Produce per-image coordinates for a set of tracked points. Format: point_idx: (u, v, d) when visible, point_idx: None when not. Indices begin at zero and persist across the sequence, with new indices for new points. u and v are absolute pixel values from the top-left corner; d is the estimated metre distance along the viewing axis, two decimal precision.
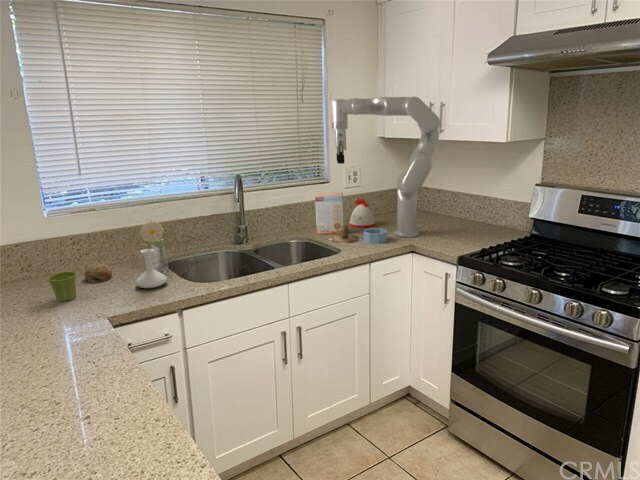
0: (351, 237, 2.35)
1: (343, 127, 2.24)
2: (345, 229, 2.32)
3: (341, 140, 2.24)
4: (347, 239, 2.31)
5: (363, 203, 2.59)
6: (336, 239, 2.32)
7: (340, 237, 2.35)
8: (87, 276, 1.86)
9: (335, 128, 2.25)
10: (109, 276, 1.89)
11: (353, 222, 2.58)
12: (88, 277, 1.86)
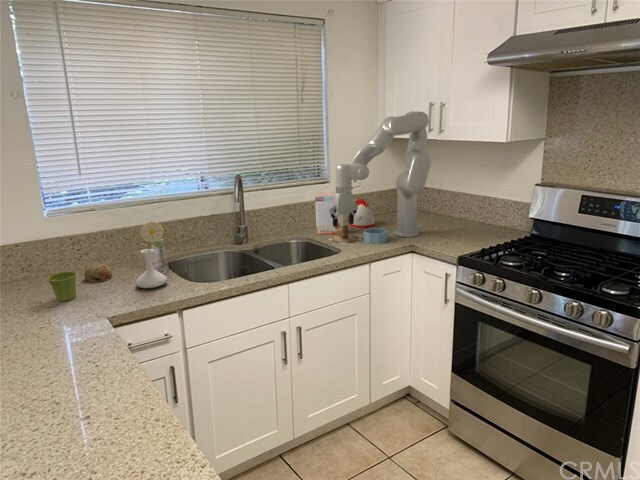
0: (351, 237, 2.35)
1: None
2: (345, 229, 2.32)
3: None
4: (347, 239, 2.31)
5: (363, 203, 2.59)
6: (336, 239, 2.32)
7: (340, 237, 2.35)
8: (87, 276, 1.87)
9: (351, 192, 2.28)
10: (109, 276, 1.89)
11: None
12: (88, 277, 1.87)
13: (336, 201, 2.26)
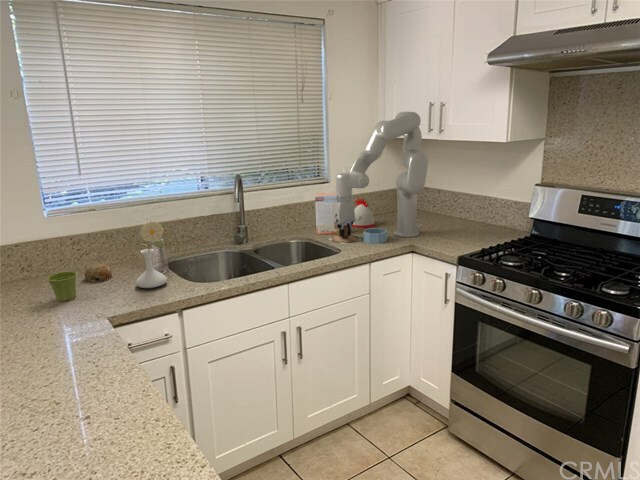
0: (351, 237, 2.35)
1: None
2: (345, 229, 2.32)
3: None
4: (347, 239, 2.31)
5: (363, 203, 2.59)
6: (336, 239, 2.32)
7: (340, 237, 2.35)
8: (87, 276, 1.87)
9: None
10: (109, 276, 1.89)
11: None
12: (88, 277, 1.87)
13: (337, 210, 2.27)
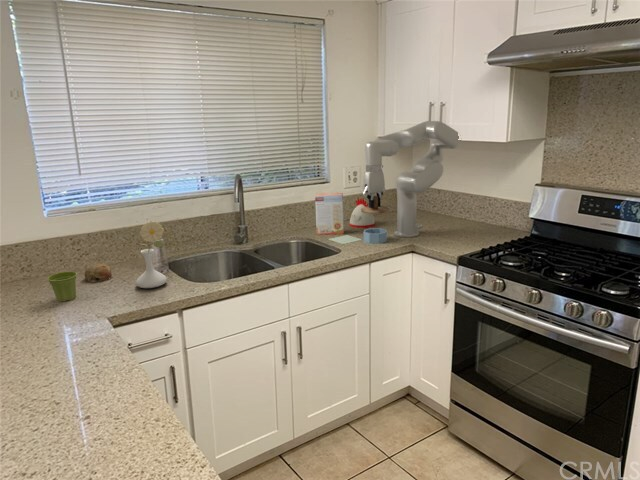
0: (381, 208, 2.28)
1: None
2: (375, 200, 2.25)
3: None
4: (377, 210, 2.25)
5: (363, 203, 2.59)
6: (366, 210, 2.25)
7: (370, 208, 2.29)
8: (87, 276, 1.87)
9: (381, 170, 2.22)
10: (109, 276, 1.90)
11: (353, 222, 2.58)
12: (88, 277, 1.87)
13: (367, 180, 2.21)
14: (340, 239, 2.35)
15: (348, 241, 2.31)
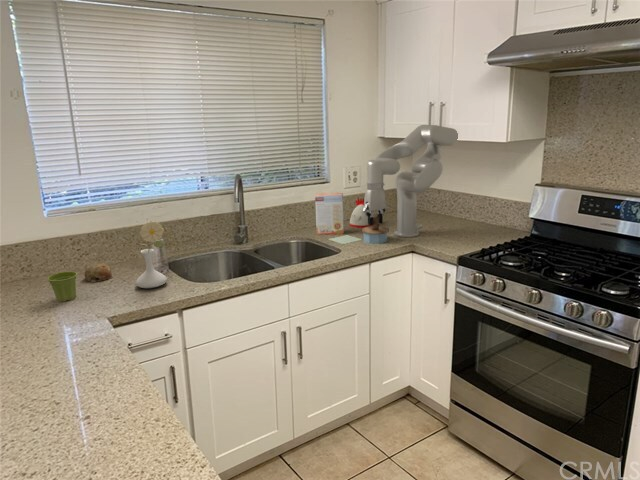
0: (381, 228, 2.31)
1: None
2: (376, 220, 2.27)
3: None
4: (378, 231, 2.27)
5: (363, 203, 2.59)
6: (367, 231, 2.28)
7: (370, 229, 2.31)
8: (87, 275, 1.87)
9: None
10: (109, 276, 1.90)
11: (353, 222, 2.58)
12: (88, 276, 1.87)
13: (368, 198, 2.23)
14: (340, 239, 2.35)
15: (348, 241, 2.31)
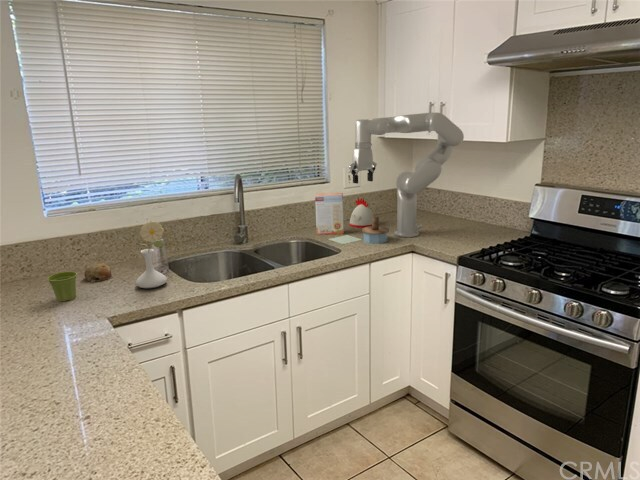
0: (381, 228, 2.31)
1: None
2: (376, 220, 2.27)
3: None
4: (378, 231, 2.27)
5: (363, 203, 2.59)
6: (367, 231, 2.28)
7: (370, 229, 2.31)
8: (87, 275, 1.87)
9: None
10: (109, 275, 1.90)
11: (353, 222, 2.58)
12: (88, 276, 1.87)
13: (356, 157, 2.24)
14: (340, 239, 2.35)
15: (348, 241, 2.31)
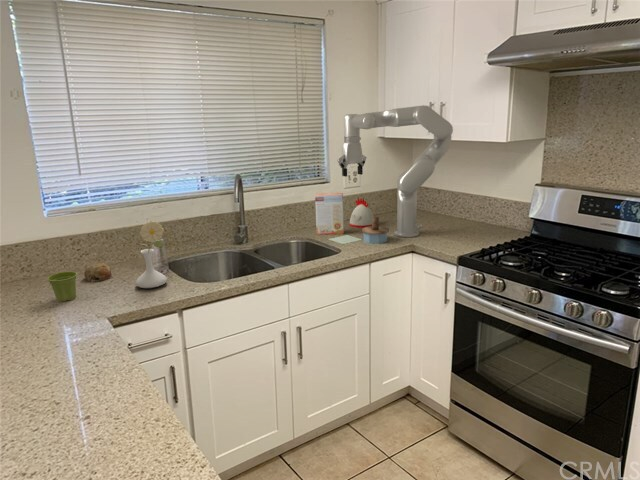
0: (381, 228, 2.31)
1: None
2: (376, 220, 2.27)
3: None
4: (378, 231, 2.27)
5: (363, 203, 2.59)
6: (367, 231, 2.28)
7: (370, 229, 2.31)
8: (87, 275, 1.87)
9: (359, 141, 2.33)
10: (109, 275, 1.90)
11: (353, 222, 2.58)
12: (88, 276, 1.87)
13: (345, 151, 2.31)
14: (340, 239, 2.35)
15: (348, 241, 2.31)
